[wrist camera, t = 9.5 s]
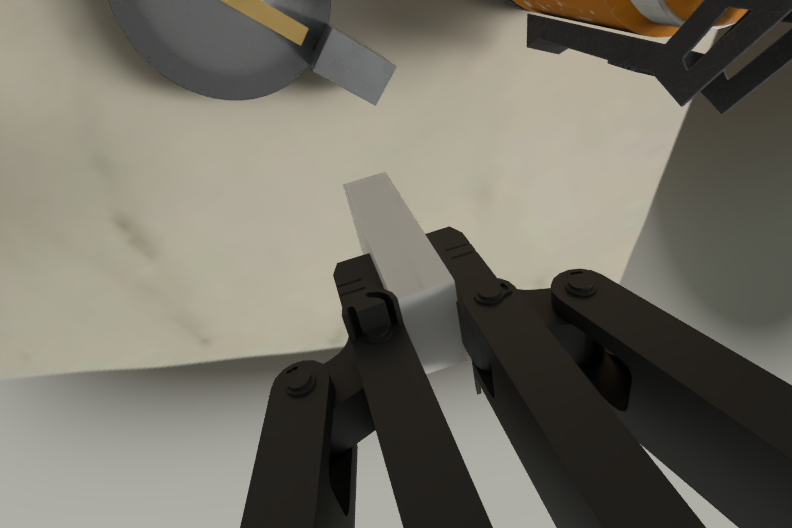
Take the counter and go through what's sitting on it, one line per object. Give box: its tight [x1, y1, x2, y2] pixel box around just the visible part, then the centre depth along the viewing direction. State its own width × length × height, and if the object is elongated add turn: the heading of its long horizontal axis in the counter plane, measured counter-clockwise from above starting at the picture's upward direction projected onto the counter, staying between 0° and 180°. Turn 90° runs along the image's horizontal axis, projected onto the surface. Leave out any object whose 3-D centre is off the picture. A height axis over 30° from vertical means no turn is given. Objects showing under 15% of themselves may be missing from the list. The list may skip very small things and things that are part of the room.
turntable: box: [109, 0, 396, 106], centre depth 26 cm, size 15×11×4 cm
